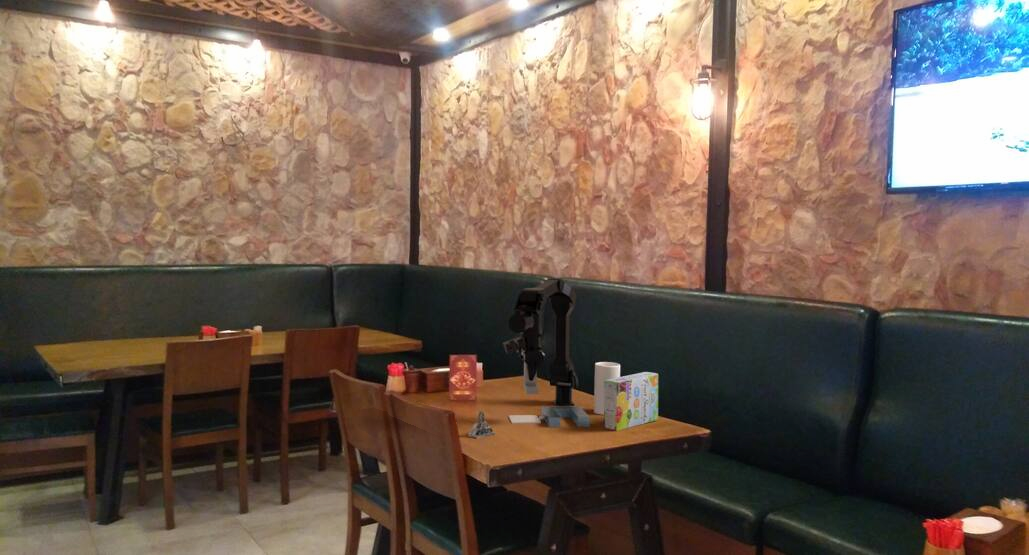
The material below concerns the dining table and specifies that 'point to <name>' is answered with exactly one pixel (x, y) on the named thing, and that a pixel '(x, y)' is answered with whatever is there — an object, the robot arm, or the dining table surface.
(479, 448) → the dining table surface
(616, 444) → the dining table surface
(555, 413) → the frame
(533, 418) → the tile
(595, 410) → the cup
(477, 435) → the house of cards
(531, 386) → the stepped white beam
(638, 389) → the snack box
